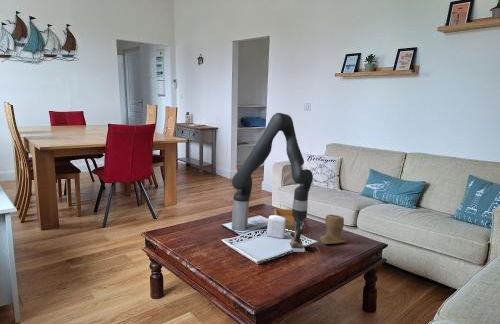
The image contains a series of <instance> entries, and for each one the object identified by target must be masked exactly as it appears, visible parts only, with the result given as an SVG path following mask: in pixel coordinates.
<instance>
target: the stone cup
mask: <svg viewBox="0 0 500 324" xmlns="http://www.w3.org/2000/svg"><path fill="white" fill-rule="evenodd" d="M324 221H325V230H326V233H325V235H321V236H319V239H320V241H321V242H322V244H324V245H333V244H341V243H346V242H347V239H345V238H344V237H343V236H341V235H342V231H343V228H344V225H345V219H344V217H343V216H341V215H337V214H327V215H326V216H325V220H324Z"/></svg>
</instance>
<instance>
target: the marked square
mask: <svg viewBox="0 0 500 324" xmlns="http://www.w3.org/2000/svg"><path fill="white" fill-rule="evenodd" d="M313 247H316V249H317V251H316V253H321V252H322V251H320V249H319V247H318V246H317V245H313ZM304 253H307V251H306V249H305V251H304Z"/></svg>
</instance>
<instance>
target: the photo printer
mask: <svg viewBox="0 0 500 324" xmlns="http://www.w3.org/2000/svg"><path fill="white" fill-rule="evenodd" d="M285 228H286V218H284V217H281V216H278V215H274V214H272V215H269V216H268V220H267V228H266V229H267V230H266V236H267V237H271V238H276V239H283V238H284V239H285V237H286V236H285V235H286V232H285ZM284 239H283V240H284Z"/></svg>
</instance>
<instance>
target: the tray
mask: <svg viewBox="0 0 500 324" xmlns="http://www.w3.org/2000/svg"><path fill="white" fill-rule="evenodd" d="M273 215H278V216H281V217H284V218H286V228H285V229H288V230H292V231H294V217H293V216H292V209H289V208H286V209H285V208H274V209H273ZM303 226H304V227H305V223H304V222H303ZM304 232H305V228H304V229H303V233H302V234H304Z"/></svg>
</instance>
